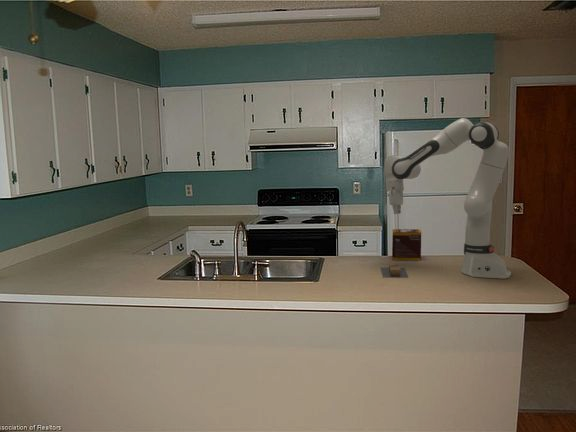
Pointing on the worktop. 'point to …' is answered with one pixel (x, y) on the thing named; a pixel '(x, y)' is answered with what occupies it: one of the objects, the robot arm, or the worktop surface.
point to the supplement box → (406, 244)
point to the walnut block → (394, 270)
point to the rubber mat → (387, 275)
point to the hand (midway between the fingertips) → (397, 213)
